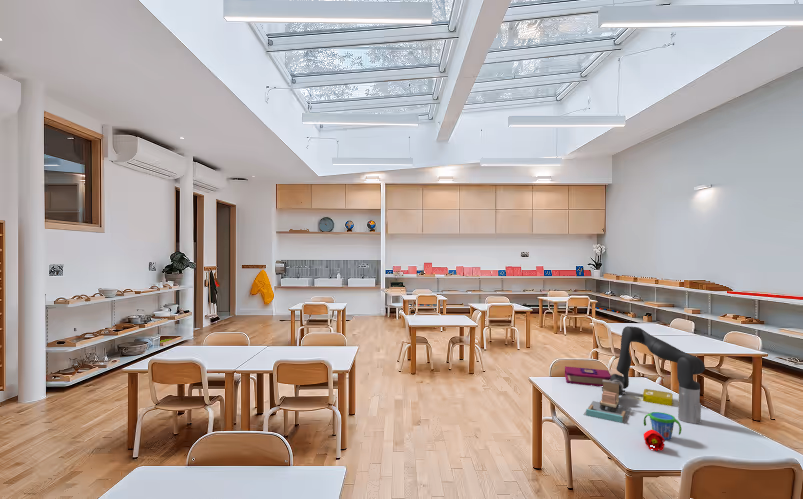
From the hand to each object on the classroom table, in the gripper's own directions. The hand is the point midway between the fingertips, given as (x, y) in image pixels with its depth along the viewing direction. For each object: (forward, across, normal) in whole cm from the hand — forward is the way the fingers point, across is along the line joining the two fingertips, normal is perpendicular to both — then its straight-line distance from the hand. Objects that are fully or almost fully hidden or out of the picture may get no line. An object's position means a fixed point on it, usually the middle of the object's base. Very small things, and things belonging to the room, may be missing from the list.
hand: (611, 394), depth 252 cm
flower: (+47, +24, +7) cm, 53 cm away
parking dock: (+11, 0, +7) cm, 13 cm away
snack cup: (+31, +27, +7) cm, 42 cm away
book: (-48, -21, +8) cm, 53 cm away
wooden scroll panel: (+6, 0, +6) cm, 9 cm away
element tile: (-31, +21, +8) cm, 38 cm away
